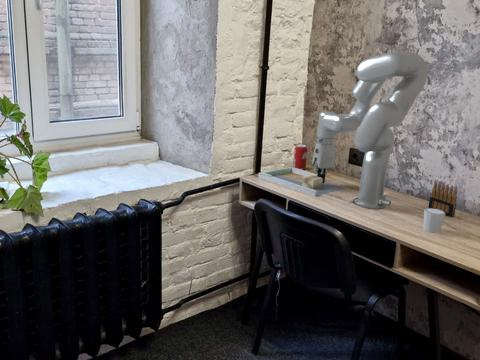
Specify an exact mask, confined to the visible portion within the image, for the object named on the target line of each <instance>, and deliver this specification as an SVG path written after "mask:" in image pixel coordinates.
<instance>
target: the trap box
mask: <svg viewBox="0 0 480 360" xmlns="http://www.w3.org/2000/svg"><path fill="white" fill-rule="evenodd" d="M290 174H295V175H298V176H296V177H292V178H289V177H286V176H284V175H290ZM309 175H314V176H317V173H313V172H310V171H306V170H305V169H304V170H300V169H297V168H293V166H289V167H284V168H283V167H282V168H278V169H272V170H268V171H267V170H266V171H261V172H258V177H257V180H259V181H260V180H265V181H268V182H271V183H275V184H277V185H279V186H283V187H287V188H290V189H293V190H295V191H299V192H301V193H304V194H308V195H310V196H313V197H317V196H321V195H326V194H328V193H332V192H336V191H341V190H344V189H347V186H346V187H345V186H342V185H339V184H336V183H332V182H329V181H327V180H325V183H322V187H321V188H316V189H311V188H308V187H305V186H302V182H301V181H300V180H299V181H298V180H296V179H300V178H303V177H304V176H309Z"/></svg>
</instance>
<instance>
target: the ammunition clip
mask: <svg viewBox="0 0 480 360" xmlns="http://www.w3.org/2000/svg"><path fill="white" fill-rule="evenodd" d="M445 184H446V183H445V182H443V183H442V182H441V181H439V182H438V180H435V181H434V183H433V186H432V190H431V193H430V194H431V195H430V197H429V201H428V206H427V208H435V209H439V210H442V211H444V212H445V216H447V217H449V218H454V217H455V214H456V208H457V207H456V206H457V203H456V202H457V197H458V196H457V195H458V186H455V187H454V186H453V184H452V185H450V184H449V183H447V184H446V185H445Z"/></svg>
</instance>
